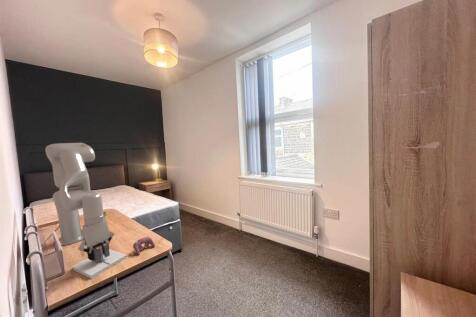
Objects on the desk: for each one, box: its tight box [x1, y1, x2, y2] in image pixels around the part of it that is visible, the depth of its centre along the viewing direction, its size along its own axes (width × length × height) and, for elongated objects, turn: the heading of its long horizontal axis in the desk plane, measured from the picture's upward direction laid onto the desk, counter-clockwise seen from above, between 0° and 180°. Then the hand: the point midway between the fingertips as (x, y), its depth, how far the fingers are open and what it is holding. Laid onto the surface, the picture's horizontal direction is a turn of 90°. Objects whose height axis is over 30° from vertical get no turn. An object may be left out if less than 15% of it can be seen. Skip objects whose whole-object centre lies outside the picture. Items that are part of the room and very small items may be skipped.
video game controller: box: [132, 236, 156, 256], centre depth 105 cm, size 10×5×7 cm, turn 142°
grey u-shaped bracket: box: [91, 242, 110, 263], centre depth 94 cm, size 6×6×6 cm
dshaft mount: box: [71, 245, 127, 279], centre depth 95 cm, size 16×16×8 cm
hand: (99, 255), depth 95 cm, fingers closed on grey u-shaped bracket, 6 cm apart
